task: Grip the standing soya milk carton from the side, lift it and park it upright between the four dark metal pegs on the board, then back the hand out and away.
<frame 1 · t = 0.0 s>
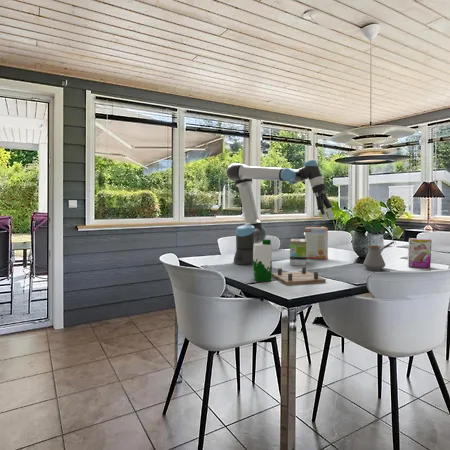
hand: (328, 219, 210), 28 cm above the table, tool tilted 20°, fingers open, 13 cm apart
cracker box: (316, 258, 239), on the table
tea box: (298, 263, 222), on the table
candy bar box: (419, 267, 205), on the table
peg board: (297, 279, 178), on the table
soya milk: (262, 280, 177), on the table
coffee pot: (380, 268, 203), on the table
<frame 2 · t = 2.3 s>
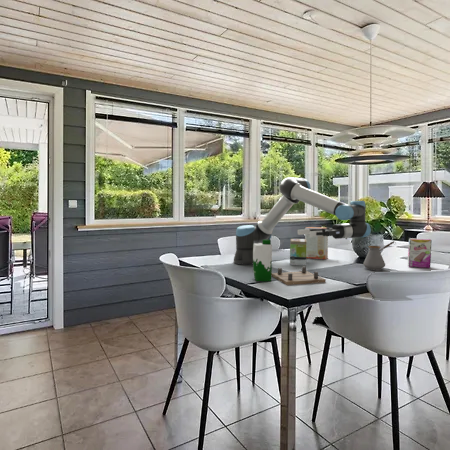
hand: (303, 233, 180), 23 cm above the table, tool horizontal, fingers open, 13 cm apart
nothing on the table moved.
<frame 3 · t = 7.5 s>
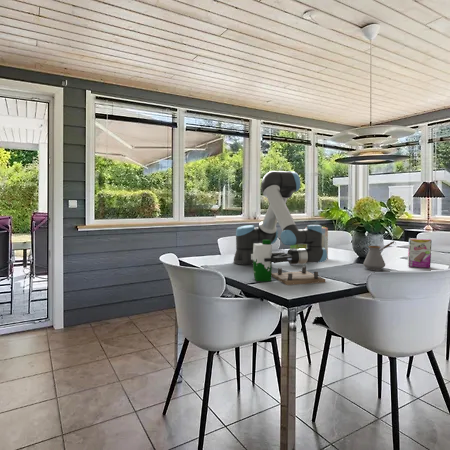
hand: (254, 258, 175), 11 cm above the table, tool horizontal, fingers closed on soya milk, 9 cm apart
soya milk: (262, 280, 177), on the table, touching gripper
everything else where it was.
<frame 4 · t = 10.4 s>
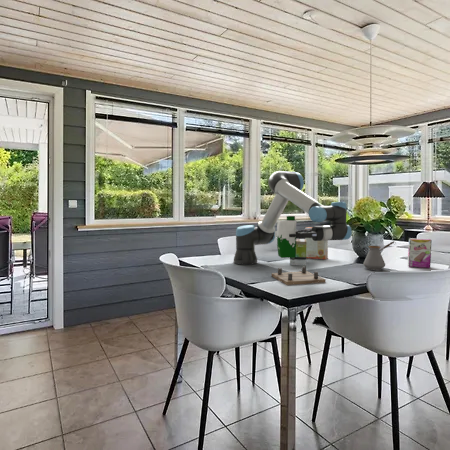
hand: (278, 234, 174), 23 cm above the table, tool horizontal, fingers closed on soya milk, 9 cm apart
soya milk: (286, 257, 176), point 11 cm above the table, touching gripper
everything else where it was.
when the fingers open (14 cm above the table, at t = 13.6 s): soya milk drops 1 cm, resting on peg board.
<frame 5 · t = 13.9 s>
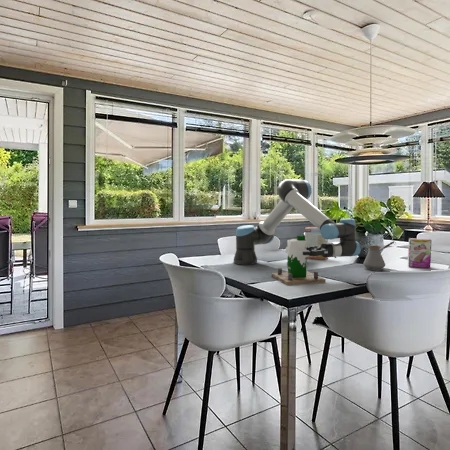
hand: (290, 251, 176), 14 cm above the table, tool horizontal, fingers open, 12 cm apart
soya milk: (297, 276, 177), point 1 cm above the table, touching peg board
everything else where it was.
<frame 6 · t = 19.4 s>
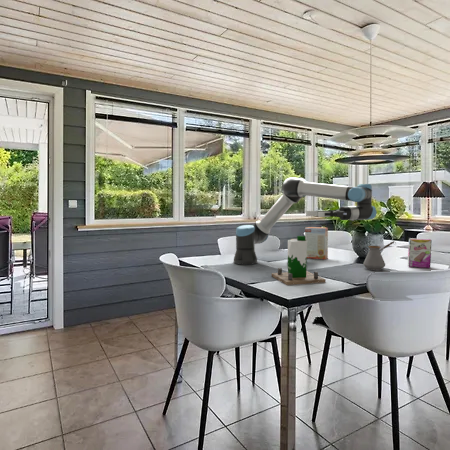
hand: (312, 213, 188), 32 cm above the table, tool horizontal, fingers open, 13 cm apart
nothing on the table moved.
at the end: soya milk 0.2 cm off-centre on the peg board, point 1.3 cm above the peg board's base; soya milk tilted 0°; the gripper is holding nothing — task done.
